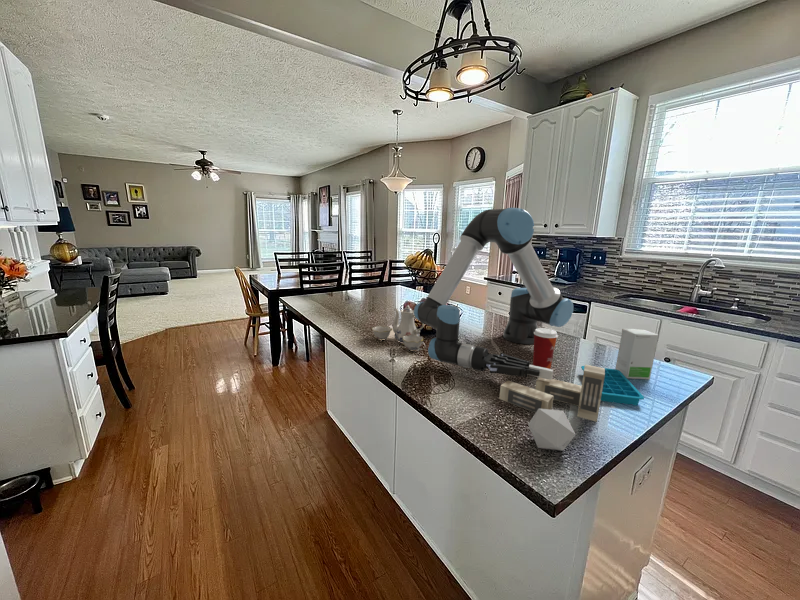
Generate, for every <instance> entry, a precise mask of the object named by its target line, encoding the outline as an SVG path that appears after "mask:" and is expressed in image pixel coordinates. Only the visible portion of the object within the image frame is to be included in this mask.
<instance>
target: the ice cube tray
mask: <svg viewBox="0 0 800 600" xmlns="http://www.w3.org/2000/svg"><path fill="white" fill-rule="evenodd" d="M584 367H585V365H581V366H580V368H581V370H582V372H584ZM604 368H605V367H604ZM644 398H645V396H644V395H643V394H642V393H641V392H640V391H639V389H637V387H635V385H634V384H632V382H631V381H630V379H629V378H626V377H625V376H624V375H623V374H622V373H621V372H620V371H619V370H616V369H615V368H605V377H604V383H603V389H602V395H601V401H603V402H606V403H607V402H609V403H615V404H616V403H617V404H622V403H624V404H623V405H629V404H633V405H632V406H638V405H639V402H640V400H645V399H644Z"/></svg>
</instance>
